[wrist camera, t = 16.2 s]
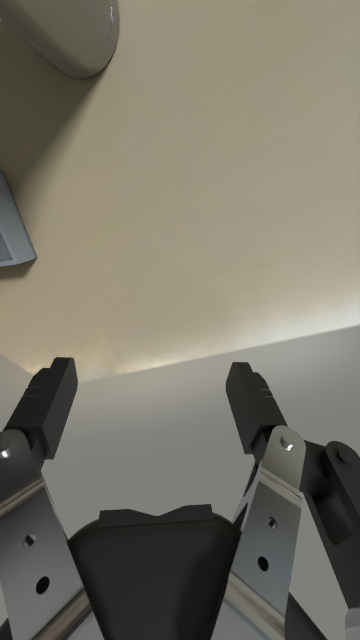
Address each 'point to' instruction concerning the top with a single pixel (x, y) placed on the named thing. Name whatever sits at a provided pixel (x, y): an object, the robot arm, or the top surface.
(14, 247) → the tote
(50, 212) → the top surface
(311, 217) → the top surface
